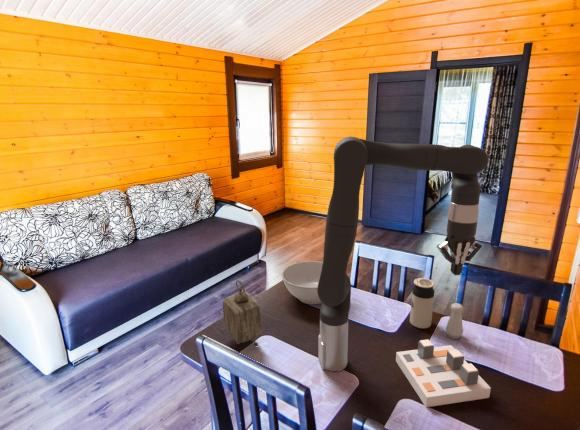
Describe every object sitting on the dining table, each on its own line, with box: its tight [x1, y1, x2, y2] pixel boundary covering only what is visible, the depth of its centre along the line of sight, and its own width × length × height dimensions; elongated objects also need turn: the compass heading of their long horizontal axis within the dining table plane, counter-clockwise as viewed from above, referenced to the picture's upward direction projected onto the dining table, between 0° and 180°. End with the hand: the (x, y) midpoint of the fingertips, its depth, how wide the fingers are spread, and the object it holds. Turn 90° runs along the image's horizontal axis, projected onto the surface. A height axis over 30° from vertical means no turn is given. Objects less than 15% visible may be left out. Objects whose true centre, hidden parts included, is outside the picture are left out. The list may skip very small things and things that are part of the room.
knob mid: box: [446, 349, 465, 370], centre depth 112 cm, size 4×4×5 cm
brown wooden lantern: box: [222, 279, 263, 347], centre depth 130 cm, size 14×9×25 cm, turn 32°
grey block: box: [459, 363, 480, 385], centre depth 106 cm, size 4×4×5 cm
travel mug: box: [409, 277, 435, 329], centre depth 140 cm, size 8×8×18 cm
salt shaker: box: [445, 302, 465, 340], centre depth 132 cm, size 6×6×13 cm
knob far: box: [417, 339, 435, 359], centre depth 118 cm, size 4×4×5 cm
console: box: [395, 344, 492, 408], centre depth 113 cm, size 20×20×4 cm
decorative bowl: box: [281, 260, 323, 305], centre depth 162 cm, size 27×27×12 cm
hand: (456, 274), depth 105 cm, fingers closed
